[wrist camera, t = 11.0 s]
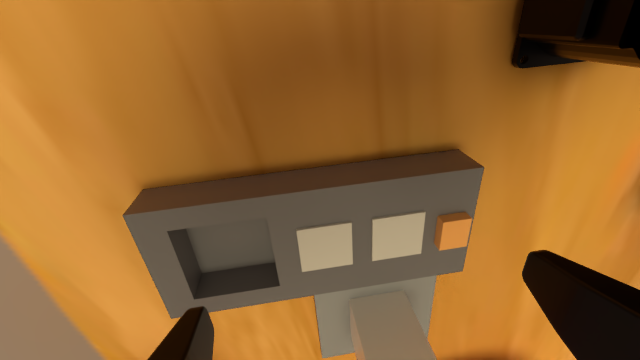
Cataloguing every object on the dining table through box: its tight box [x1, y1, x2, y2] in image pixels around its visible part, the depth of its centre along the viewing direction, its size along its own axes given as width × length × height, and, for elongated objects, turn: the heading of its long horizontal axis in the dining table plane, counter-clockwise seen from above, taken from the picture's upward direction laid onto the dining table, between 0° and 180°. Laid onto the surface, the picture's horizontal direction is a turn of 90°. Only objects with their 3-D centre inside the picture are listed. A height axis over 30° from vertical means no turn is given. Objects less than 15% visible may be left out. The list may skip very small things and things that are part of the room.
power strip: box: [123, 149, 484, 319], centre depth 21 cm, size 22×9×4 cm, turn 94°
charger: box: [349, 290, 437, 360], centre depth 25 cm, size 5×5×7 cm
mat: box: [314, 275, 437, 358], centre depth 28 cm, size 11×11×1 cm
